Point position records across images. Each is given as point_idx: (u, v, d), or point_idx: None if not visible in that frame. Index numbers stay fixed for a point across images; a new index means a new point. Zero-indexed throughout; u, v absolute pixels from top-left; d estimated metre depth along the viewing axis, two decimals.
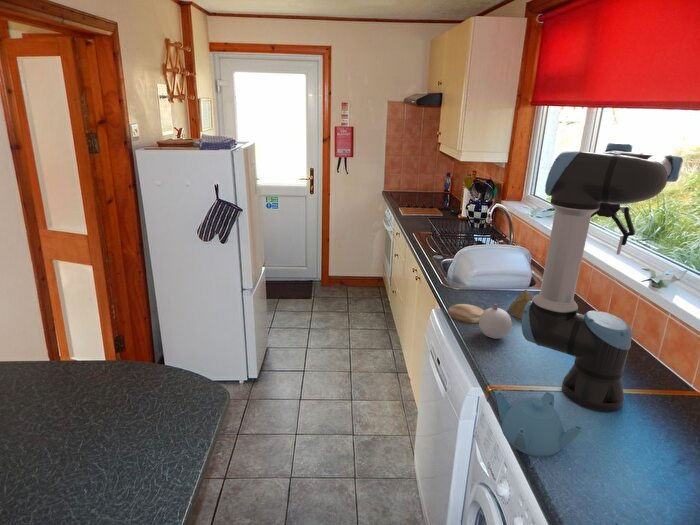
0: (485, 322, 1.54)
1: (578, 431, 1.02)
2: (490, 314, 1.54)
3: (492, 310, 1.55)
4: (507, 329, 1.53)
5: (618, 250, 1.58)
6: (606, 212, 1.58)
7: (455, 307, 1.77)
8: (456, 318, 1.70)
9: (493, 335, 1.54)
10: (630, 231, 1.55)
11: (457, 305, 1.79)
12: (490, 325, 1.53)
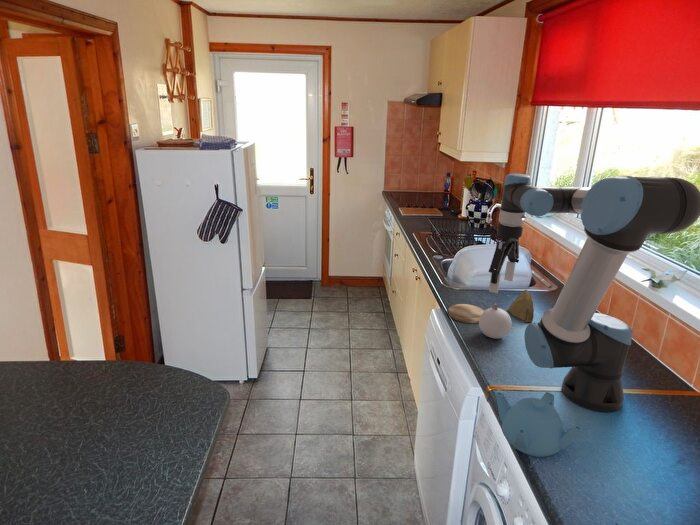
0: (485, 322, 1.54)
1: (578, 431, 1.02)
2: (490, 314, 1.54)
3: (492, 310, 1.55)
4: (507, 329, 1.53)
5: None
6: None
7: (455, 307, 1.77)
8: (456, 318, 1.70)
9: (493, 335, 1.54)
10: None
11: (457, 305, 1.79)
12: (490, 325, 1.53)
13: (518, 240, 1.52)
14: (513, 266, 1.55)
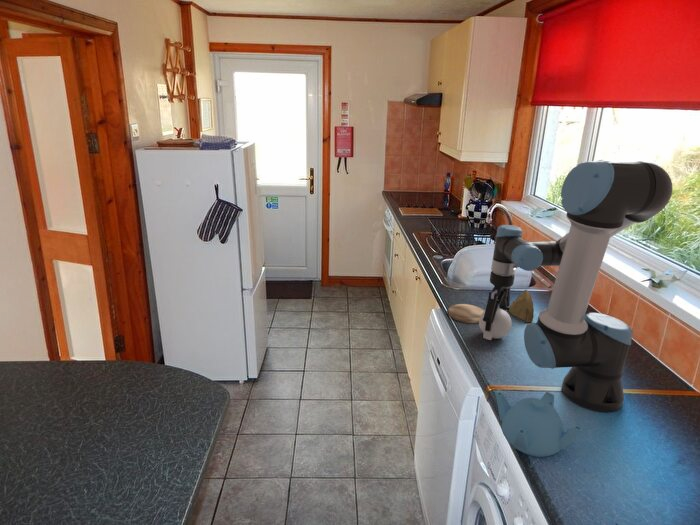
0: None
1: (578, 431, 1.02)
2: None
3: None
4: (507, 329, 1.53)
5: None
6: None
7: (455, 307, 1.77)
8: (456, 318, 1.70)
9: (493, 335, 1.54)
10: None
11: (457, 305, 1.79)
12: None
13: None
14: None
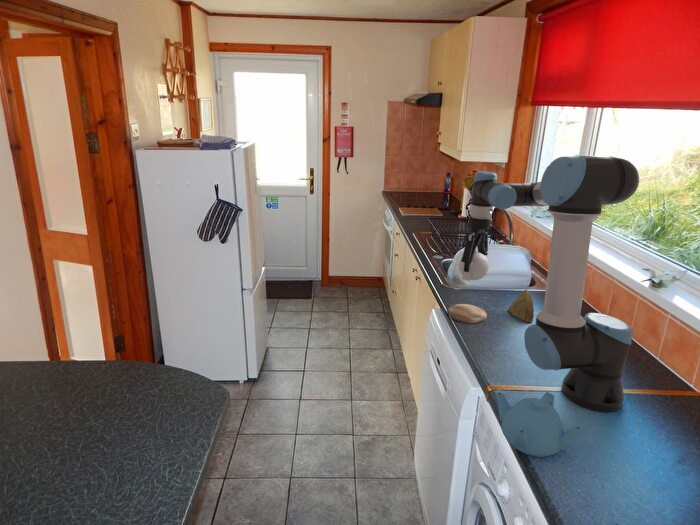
0: (463, 264, 1.65)
1: (578, 431, 1.02)
2: None
3: None
4: (484, 270, 1.64)
5: None
6: None
7: (455, 307, 1.77)
8: (456, 318, 1.70)
9: (471, 276, 1.64)
10: None
11: (457, 305, 1.79)
12: None
13: (487, 233, 1.68)
14: None
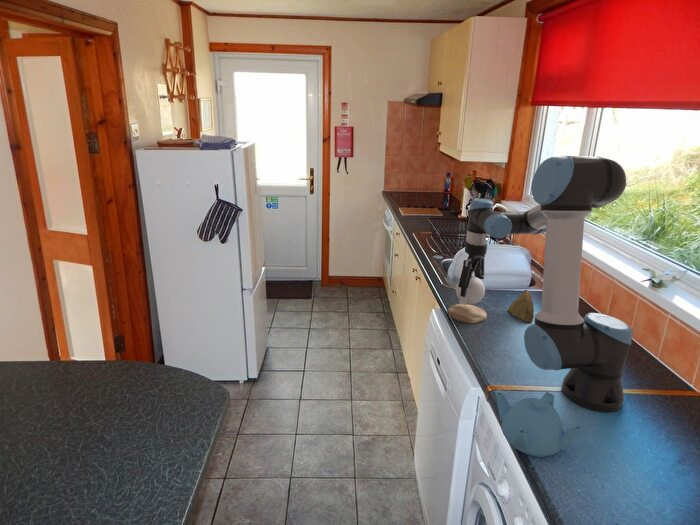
0: (460, 289, 1.68)
1: (578, 431, 1.02)
2: None
3: None
4: (481, 295, 1.67)
5: None
6: None
7: (455, 307, 1.77)
8: (456, 318, 1.70)
9: (468, 300, 1.68)
10: None
11: (457, 305, 1.79)
12: None
13: None
14: None
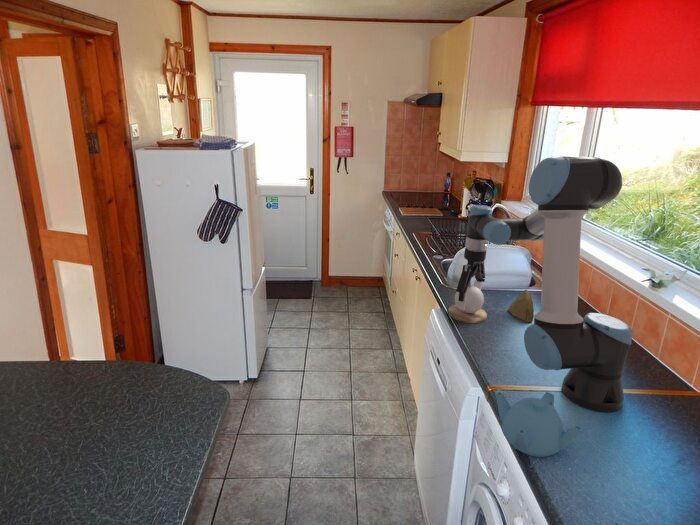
0: None
1: (578, 431, 1.02)
2: None
3: None
4: (479, 304, 1.68)
5: None
6: None
7: (455, 307, 1.77)
8: (456, 318, 1.70)
9: (466, 310, 1.69)
10: None
11: None
12: None
13: (483, 262, 1.72)
14: (480, 285, 1.75)
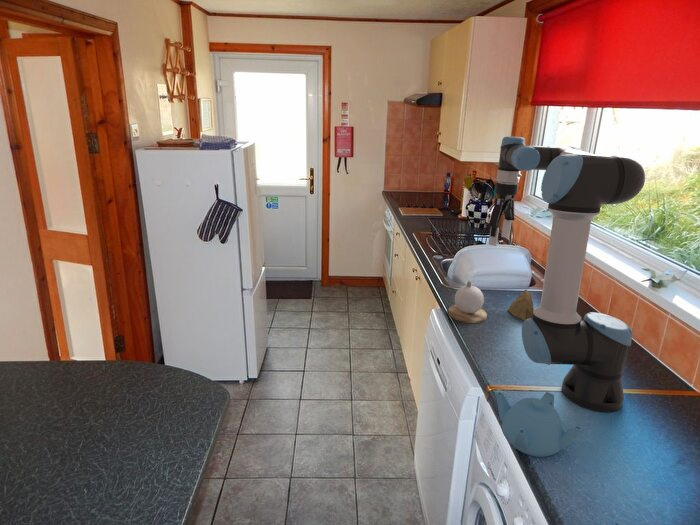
0: (459, 298, 1.69)
1: (578, 431, 1.02)
2: (464, 291, 1.69)
3: (466, 287, 1.70)
4: (479, 304, 1.68)
5: None
6: None
7: (455, 307, 1.77)
8: (456, 318, 1.70)
9: (466, 310, 1.69)
10: None
11: None
12: (464, 300, 1.68)
13: None
14: (509, 223, 1.71)
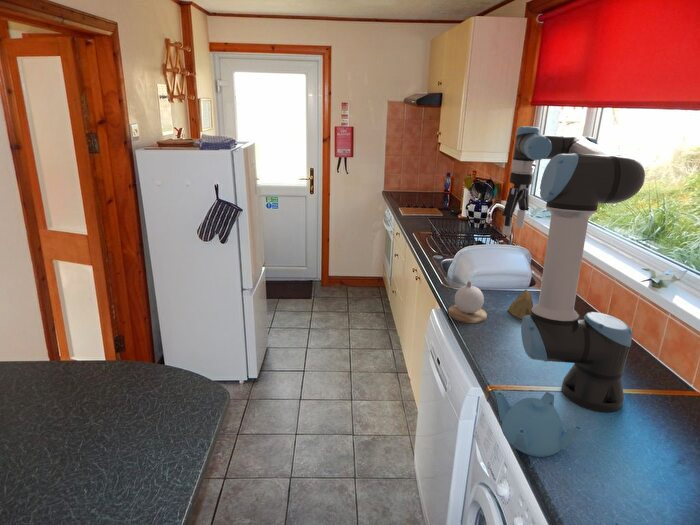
0: (459, 298, 1.69)
1: (578, 431, 1.02)
2: (464, 291, 1.69)
3: (466, 287, 1.70)
4: (479, 304, 1.68)
5: None
6: None
7: (455, 307, 1.77)
8: (456, 318, 1.70)
9: (466, 310, 1.69)
10: None
11: None
12: (464, 300, 1.68)
13: (528, 189, 1.68)
14: (523, 214, 1.71)
